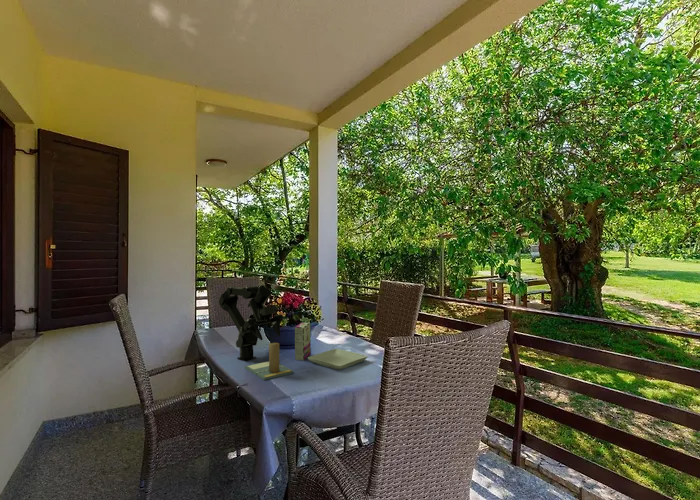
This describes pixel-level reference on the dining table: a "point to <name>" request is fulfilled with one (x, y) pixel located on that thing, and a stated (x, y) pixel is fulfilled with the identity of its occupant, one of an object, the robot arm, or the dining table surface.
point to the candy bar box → (302, 341)
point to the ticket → (259, 367)
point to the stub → (274, 364)
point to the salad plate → (337, 358)
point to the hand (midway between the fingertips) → (270, 338)
